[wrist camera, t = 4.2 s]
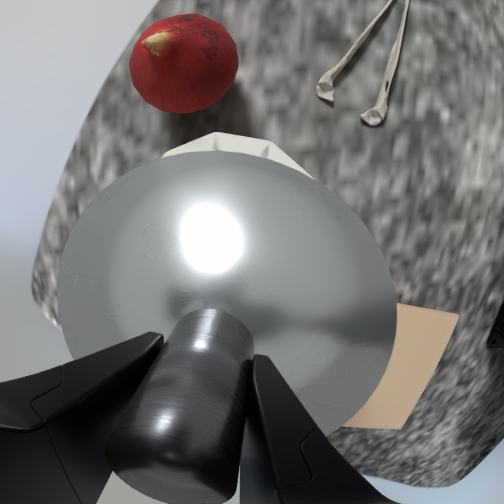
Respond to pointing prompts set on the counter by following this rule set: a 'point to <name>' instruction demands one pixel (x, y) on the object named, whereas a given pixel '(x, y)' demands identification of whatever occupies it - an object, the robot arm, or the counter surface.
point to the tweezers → (380, 108)
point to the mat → (407, 367)
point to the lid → (223, 308)
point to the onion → (184, 63)
